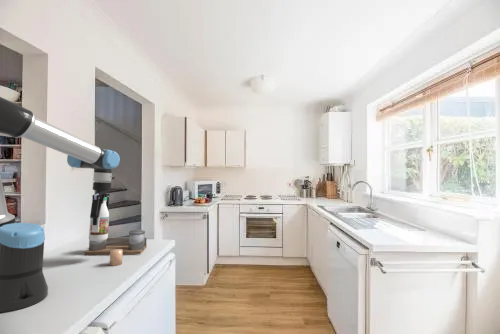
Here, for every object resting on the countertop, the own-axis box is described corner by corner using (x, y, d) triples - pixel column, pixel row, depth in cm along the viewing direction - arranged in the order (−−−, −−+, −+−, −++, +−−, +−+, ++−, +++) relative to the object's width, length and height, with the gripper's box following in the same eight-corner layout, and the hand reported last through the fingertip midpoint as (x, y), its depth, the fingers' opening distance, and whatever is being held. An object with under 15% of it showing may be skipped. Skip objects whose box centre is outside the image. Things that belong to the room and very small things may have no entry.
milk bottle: (84, 240, 120) (87, 196, 122) (98, 237, 128) (101, 196, 129) (97, 242, 118) (101, 197, 119) (111, 238, 125) (114, 196, 127)
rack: (141, 254, 132) (141, 234, 133) (83, 255, 128) (84, 234, 129) (147, 247, 145) (148, 228, 145) (95, 247, 141) (96, 228, 141)
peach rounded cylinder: (119, 265, 116) (120, 252, 116) (107, 266, 115) (108, 252, 115) (123, 262, 121) (124, 248, 121) (111, 262, 120) (112, 249, 120)
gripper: (102, 182, 115) (98, 235, 114) (118, 182, 135) (115, 226, 134) (83, 181, 114) (79, 234, 112) (102, 181, 134) (99, 226, 133)
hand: (98, 230), depth 123 cm, fingers closed on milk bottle, 8 cm apart
